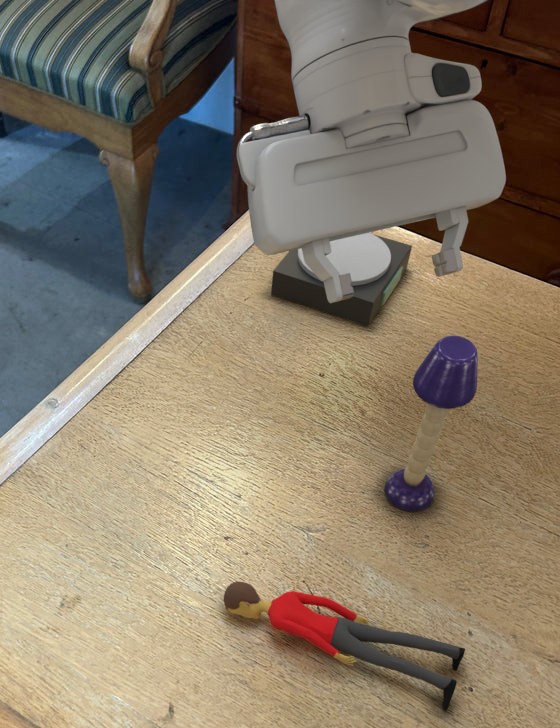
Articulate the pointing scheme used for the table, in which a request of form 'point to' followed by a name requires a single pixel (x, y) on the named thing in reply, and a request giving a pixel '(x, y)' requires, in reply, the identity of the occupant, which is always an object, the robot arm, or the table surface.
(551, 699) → the table surface
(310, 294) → the kitchen scale
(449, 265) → the robot arm
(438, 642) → the person figure
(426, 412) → the toy lamp
